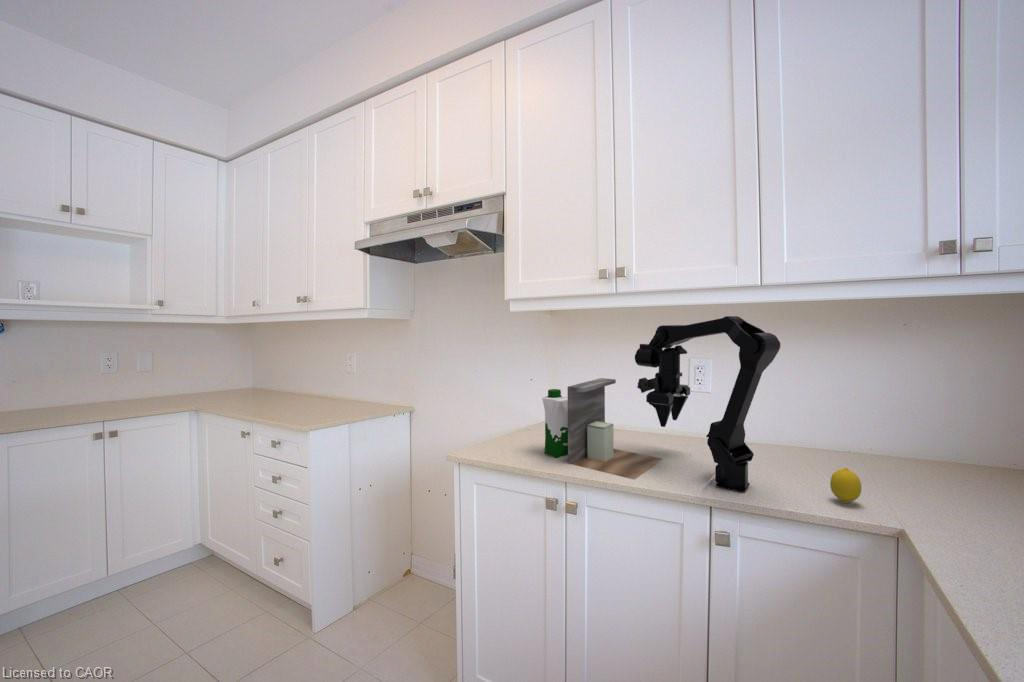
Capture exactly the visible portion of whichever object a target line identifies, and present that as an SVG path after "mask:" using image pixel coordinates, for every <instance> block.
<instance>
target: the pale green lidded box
mask: <svg viewBox="0 0 1024 682" xmlns="http://www.w3.org/2000/svg"><path fill="white" fill-rule="evenodd" d="M614 445H615V443H614V423H610V422H606V421H605V422H599V421H596V422H593V423H591V424H588V425H587V448H588V458H589V459H594V460H598V461H602V462H606V461H607V460H609V459H611V458H613V457H614V449H615V448H614V447H615V446H614Z"/></svg>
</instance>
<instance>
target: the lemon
mask: <svg viewBox="0 0 1024 682" xmlns="http://www.w3.org/2000/svg"><path fill="white" fill-rule="evenodd" d="M829 484H830V487H829V488H830V489H831V492H832V494H833V495H834V496H835V497H836V498H837V499H839V500H840V501H841V502H842V503H844V502H846V503H845V504H847V503H849V502H853V501H856V500H858V498H859V497H860V496H861V493H862V482H861V480H860V477H859V476H858V475H857V474H856V473H855V472H854V471H852V470H850V469H849V468H847V467H843V468H841V469H837V470H835V471H834V472H833V473H832V474H831V477H830V482H829Z"/></svg>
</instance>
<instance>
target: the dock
mask: <svg viewBox="0 0 1024 682" xmlns="http://www.w3.org/2000/svg"><path fill="white" fill-rule="evenodd" d="M616 382H617V380H616V379H615V378H604V377H600V378H596V379H593V380H588V381H585V382H579V383H576V384H572V385H568V386H567V396H568V454H567V464H569V465H573V466H578V467H581V468H585V469H589V470H593V471H597V472H601V473H605V474H610V475H614V476H618V477H622V478H627V479H630V480H636V479H638V478H639V477H640V476H642V475H643V474H645V473H646V472H647V471H648V470H650V469H652V468H653V467H654V466H656V465H657V464H659V463H660V462H661V461H662V460H663V458H662V457H657V456H651V455H646V454H642V453H637V452H631V451H627V450H621V449H617V448H614V457H613V458H611V459H609V460H607V461H606V462H602V461H598V460H594V459H589V458H588V448H587V425H588V424H591V423H593V422H596V421H599V422H605V423H606V411H605V410H606V409H605V408H606V402H605V401H606V398H605V397H606V396H605V395H606V393H605V391H606V387H607V386H610V385H614V384H616Z"/></svg>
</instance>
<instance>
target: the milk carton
mask: <svg viewBox="0 0 1024 682" xmlns="http://www.w3.org/2000/svg"><path fill="white" fill-rule="evenodd" d="M542 404H543V408H544V409H543V410H544V425H545V426H544V434H545V436H544V438H545V439H544V455H547V456H550V457H552V458H553V457H554V458H557V459H559V458H561V457H564V456H568V395H564V394H562V390H561V389H557V388H553V389H548V390H547V396H544V397H542Z"/></svg>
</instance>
